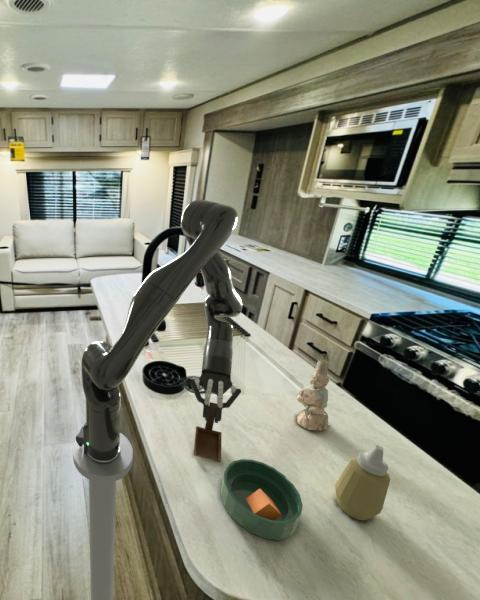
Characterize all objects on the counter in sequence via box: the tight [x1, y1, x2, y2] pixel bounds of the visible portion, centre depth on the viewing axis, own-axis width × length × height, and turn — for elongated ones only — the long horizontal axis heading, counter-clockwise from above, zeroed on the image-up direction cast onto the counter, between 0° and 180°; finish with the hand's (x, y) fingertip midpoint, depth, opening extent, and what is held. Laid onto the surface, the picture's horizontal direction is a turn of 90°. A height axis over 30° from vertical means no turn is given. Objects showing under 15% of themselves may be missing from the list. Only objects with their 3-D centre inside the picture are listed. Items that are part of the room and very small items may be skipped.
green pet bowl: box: [220, 458, 303, 541], centre depth 70 cm, size 15×15×6 cm
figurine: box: [296, 360, 331, 431], centre depth 90 cm, size 9×8×20 cm
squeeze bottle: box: [334, 445, 391, 521], centre depth 67 cm, size 8×8×18 cm
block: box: [246, 489, 282, 520], centre depth 67 cm, size 4×4×4 cm
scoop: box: [193, 401, 223, 463], centre depth 83 cm, size 9×7×12 cm
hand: (211, 421), depth 82 cm, fingers closed on scoop
